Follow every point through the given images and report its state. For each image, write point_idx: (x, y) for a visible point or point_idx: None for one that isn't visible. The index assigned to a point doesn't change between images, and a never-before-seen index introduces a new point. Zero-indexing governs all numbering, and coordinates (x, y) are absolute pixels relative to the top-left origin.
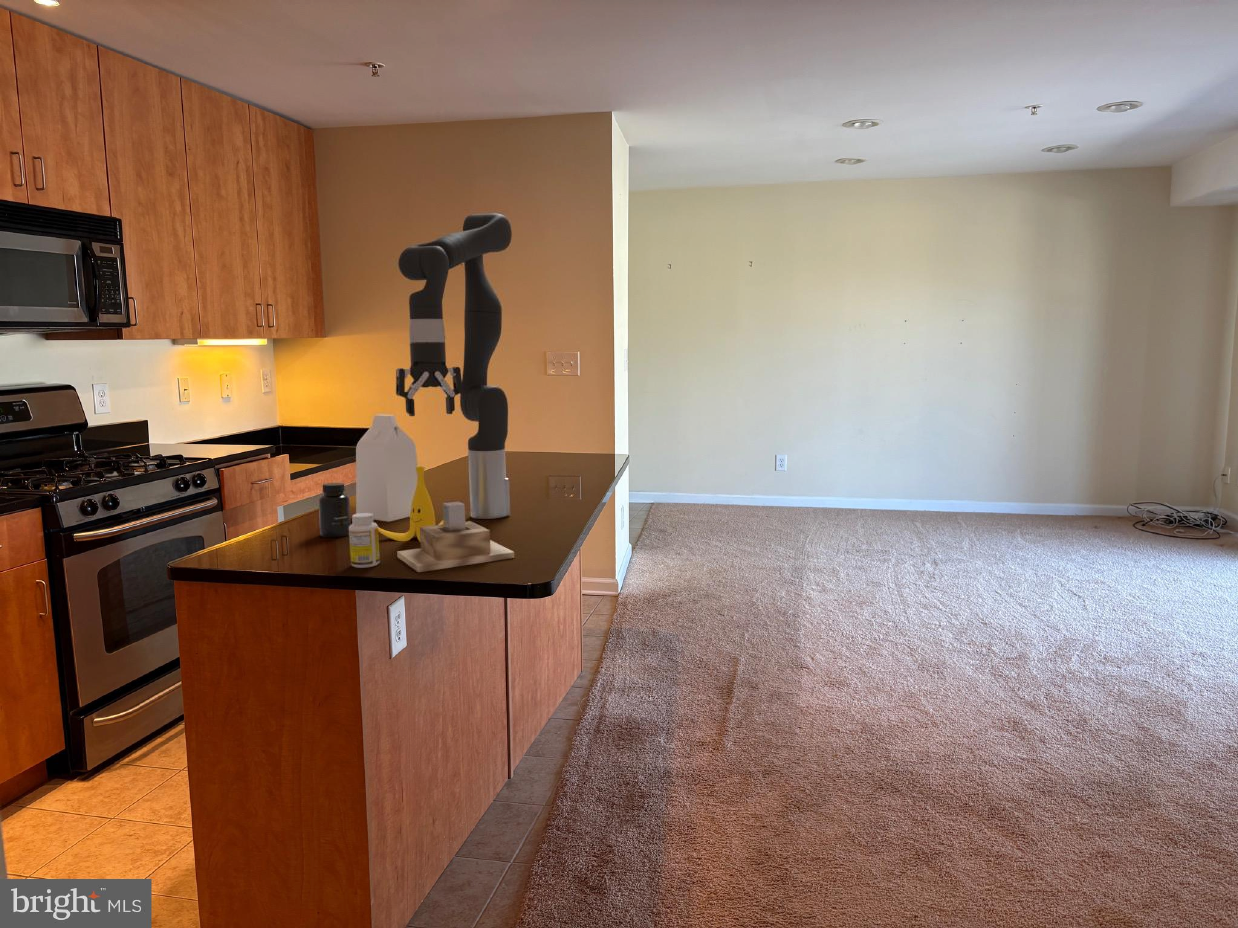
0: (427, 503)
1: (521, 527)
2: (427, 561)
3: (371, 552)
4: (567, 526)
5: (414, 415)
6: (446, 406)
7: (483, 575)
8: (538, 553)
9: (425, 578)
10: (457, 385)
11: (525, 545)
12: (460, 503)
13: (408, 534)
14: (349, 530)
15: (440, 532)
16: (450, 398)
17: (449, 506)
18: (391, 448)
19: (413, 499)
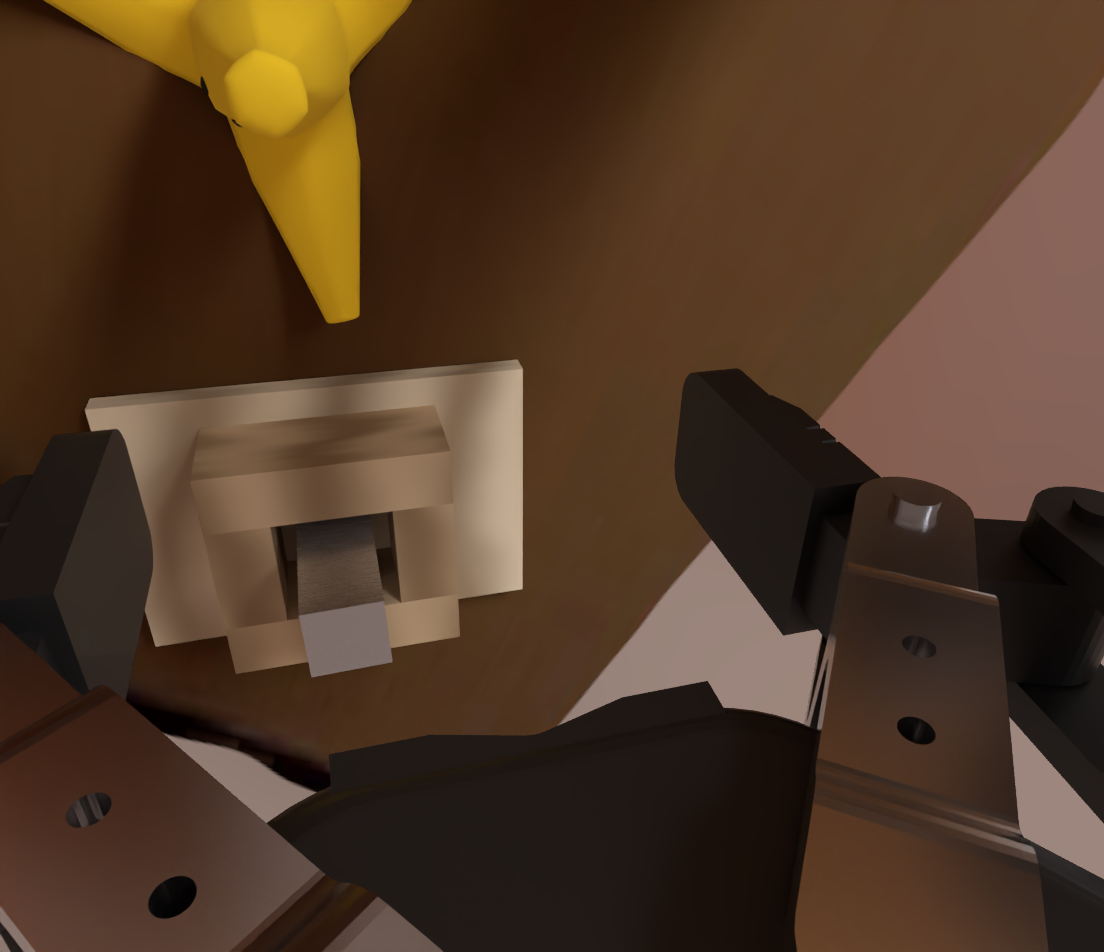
0: (301, 129)
1: (787, 105)
2: (199, 601)
3: None
4: (932, 208)
5: (148, 555)
6: (730, 431)
7: (357, 715)
8: (608, 555)
9: (173, 696)
10: (1068, 771)
11: (627, 439)
12: (379, 643)
13: (178, 44)
14: None
15: (265, 607)
16: (797, 622)
17: (315, 674)
18: None
19: (206, 60)
